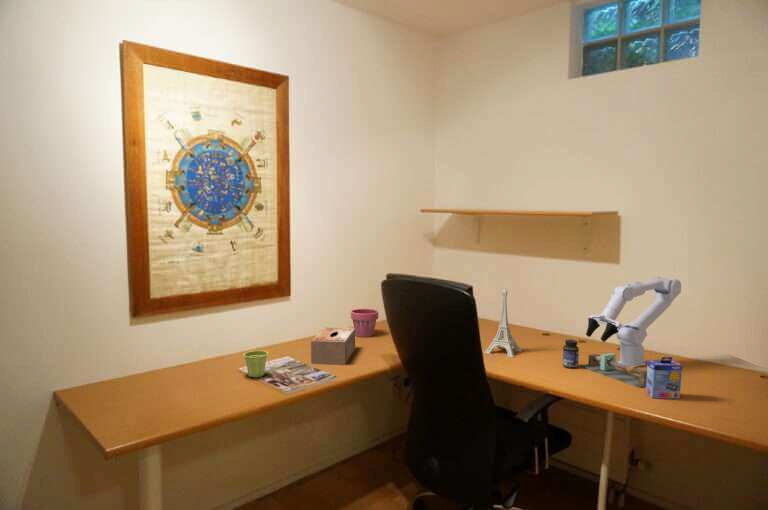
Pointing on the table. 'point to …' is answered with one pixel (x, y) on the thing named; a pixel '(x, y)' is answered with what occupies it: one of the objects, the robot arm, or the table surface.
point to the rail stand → (618, 371)
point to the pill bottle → (570, 354)
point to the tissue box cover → (333, 346)
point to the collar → (604, 361)
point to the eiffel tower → (507, 339)
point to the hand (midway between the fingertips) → (594, 338)
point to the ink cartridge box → (663, 378)
